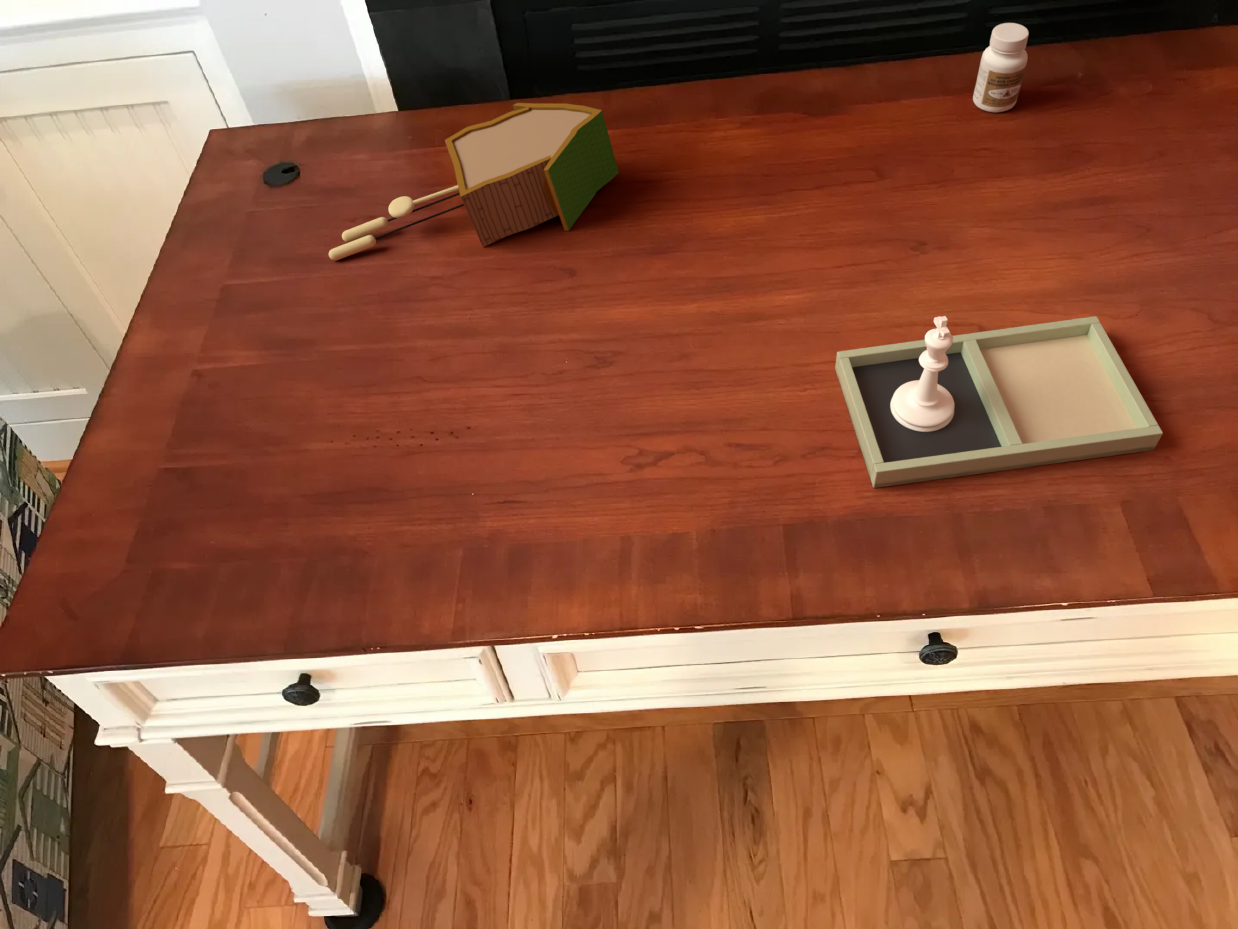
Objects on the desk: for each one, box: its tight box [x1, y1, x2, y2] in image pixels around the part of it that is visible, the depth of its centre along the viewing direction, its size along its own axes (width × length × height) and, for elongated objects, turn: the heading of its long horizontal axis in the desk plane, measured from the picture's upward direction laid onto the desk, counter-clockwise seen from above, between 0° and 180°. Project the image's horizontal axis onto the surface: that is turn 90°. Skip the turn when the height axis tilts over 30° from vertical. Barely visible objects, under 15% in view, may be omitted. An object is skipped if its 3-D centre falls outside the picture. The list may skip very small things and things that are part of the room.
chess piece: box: [890, 315, 954, 432], centre depth 74 cm, size 5×5×10 cm
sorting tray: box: [834, 315, 1164, 489], centre depth 78 cm, size 22×13×2 cm, turn 95°
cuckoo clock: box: [328, 102, 620, 262], centre depth 97 cm, size 12×8×30 cm
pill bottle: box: [972, 22, 1030, 113], centre depth 100 cm, size 4×4×8 cm
